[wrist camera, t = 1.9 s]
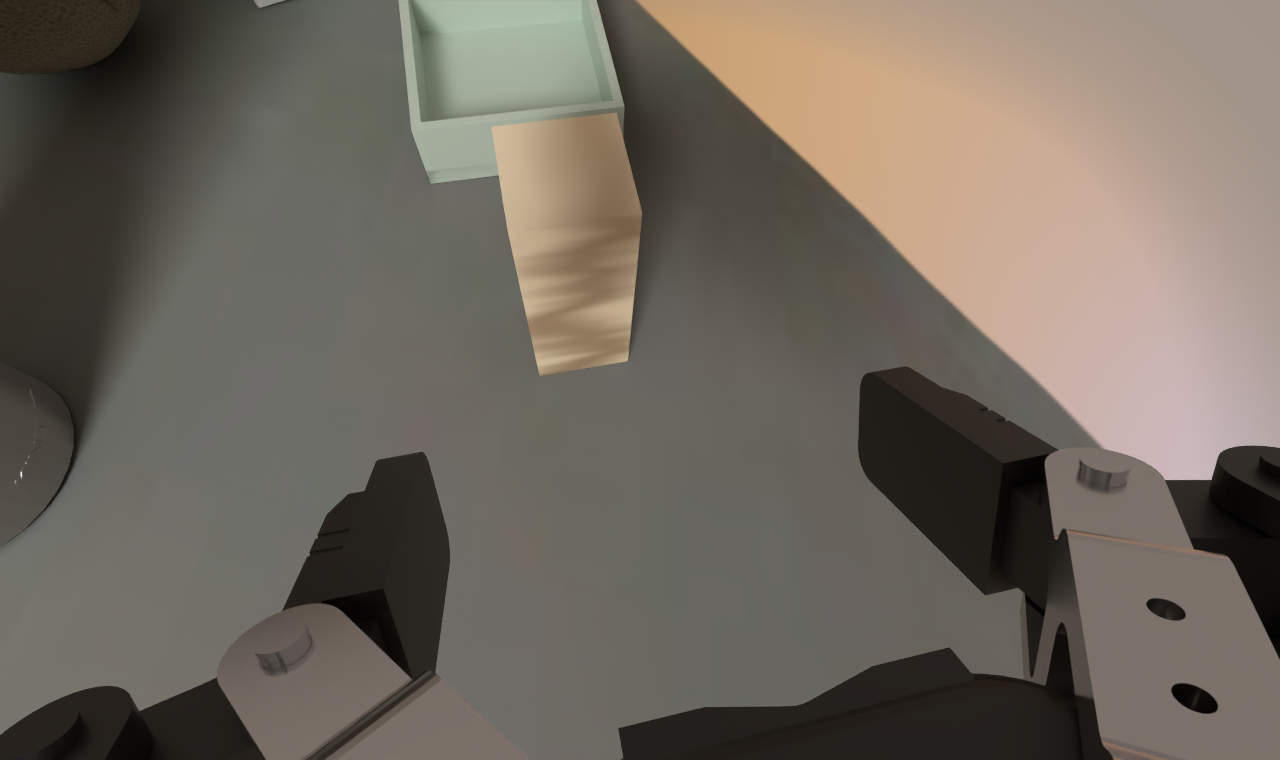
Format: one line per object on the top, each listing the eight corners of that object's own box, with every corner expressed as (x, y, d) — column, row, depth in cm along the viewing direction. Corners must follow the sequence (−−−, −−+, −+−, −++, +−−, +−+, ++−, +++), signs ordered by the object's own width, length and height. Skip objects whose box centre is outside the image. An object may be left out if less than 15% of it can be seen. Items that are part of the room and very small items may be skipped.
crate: (430, 183, 36) (411, 130, 32) (415, 44, 40) (396, -17, 36) (622, 159, 38) (624, 106, 34) (588, 27, 42) (587, -33, 38)
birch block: (539, 375, 32) (508, 231, 21) (526, 298, 34) (491, 126, 23) (627, 361, 33) (642, 213, 21) (611, 285, 34) (616, 112, 23)
